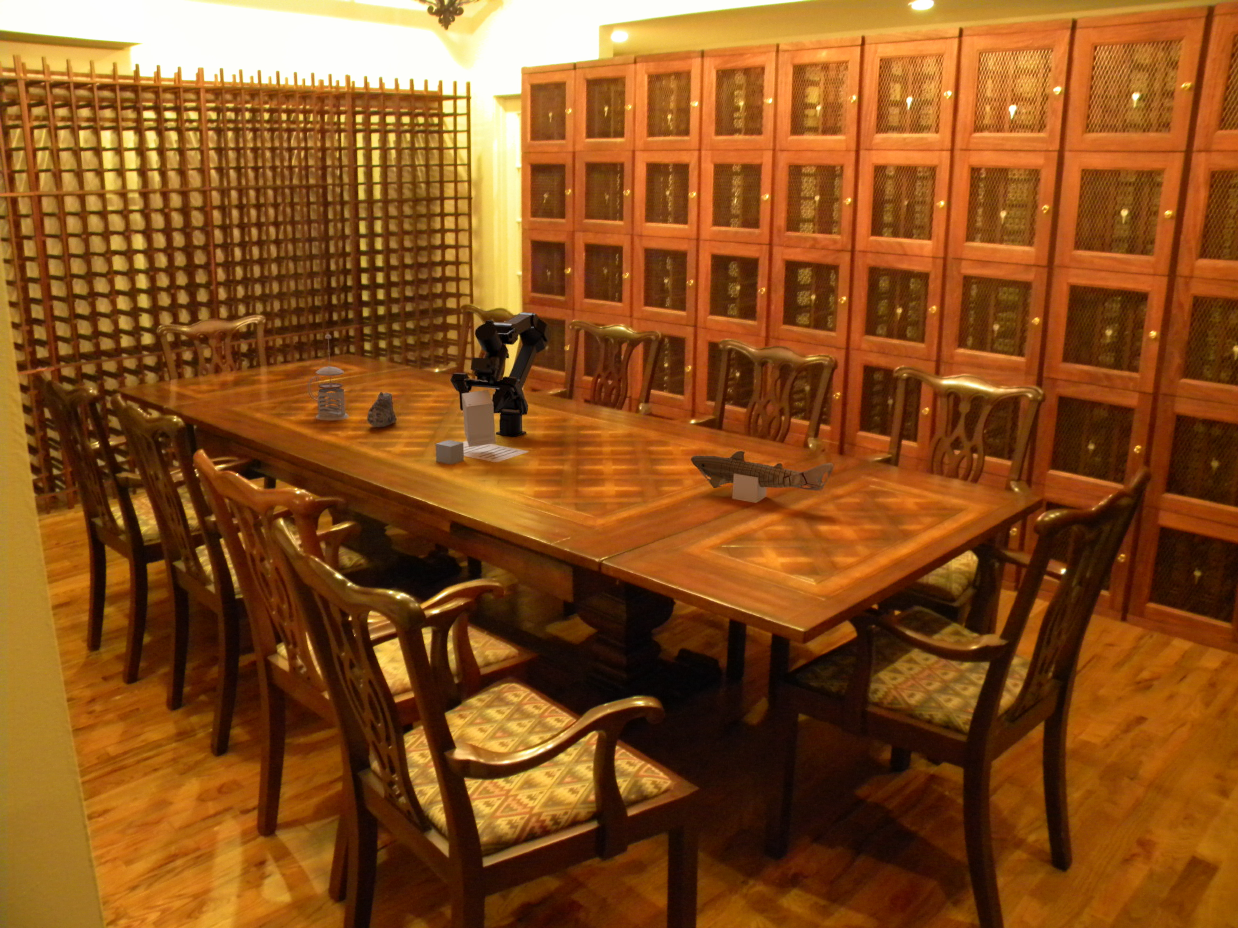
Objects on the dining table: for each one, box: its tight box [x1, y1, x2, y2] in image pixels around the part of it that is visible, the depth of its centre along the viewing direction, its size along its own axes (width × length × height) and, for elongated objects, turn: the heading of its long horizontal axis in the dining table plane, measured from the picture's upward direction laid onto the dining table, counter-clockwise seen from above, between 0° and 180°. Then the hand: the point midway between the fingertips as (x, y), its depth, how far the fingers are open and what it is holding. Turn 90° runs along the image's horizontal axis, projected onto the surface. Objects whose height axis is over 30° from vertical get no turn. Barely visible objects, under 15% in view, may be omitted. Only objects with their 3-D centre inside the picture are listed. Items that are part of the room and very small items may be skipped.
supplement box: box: [462, 389, 497, 447], centre depth 282 cm, size 7×7×13 cm
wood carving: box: [690, 450, 834, 504], centre depth 248 cm, size 9×35×11 cm, turn 61°
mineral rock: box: [366, 391, 397, 428], centre depth 311 cm, size 13×11×10 cm
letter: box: [462, 440, 530, 463], centre depth 286 cm, size 14×21×1 cm, turn 57°
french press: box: [307, 334, 349, 421], centre depth 319 cm, size 10×12×25 cm
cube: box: [435, 439, 465, 465], centre depth 275 cm, size 5×5×5 cm
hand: (477, 411), depth 281 cm, fingers closed on supplement box, 9 cm apart
